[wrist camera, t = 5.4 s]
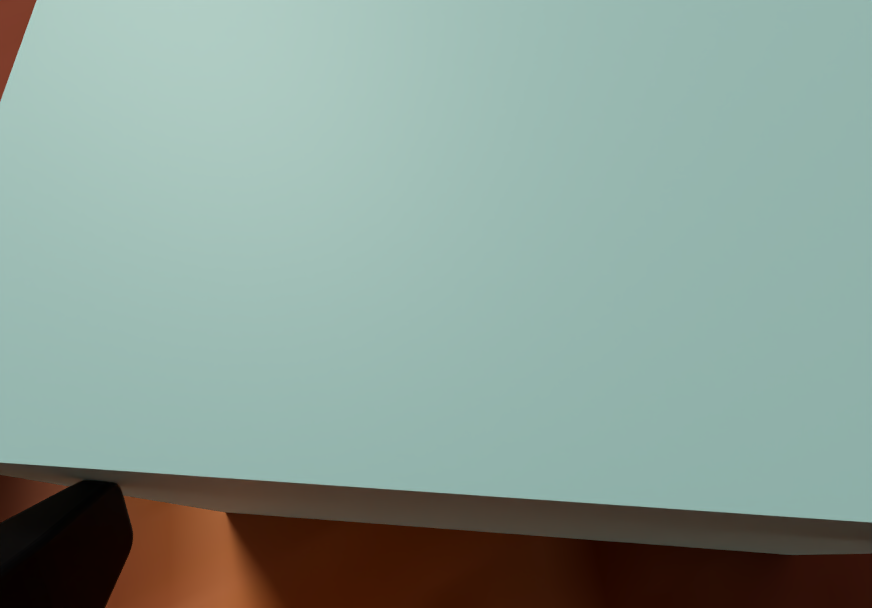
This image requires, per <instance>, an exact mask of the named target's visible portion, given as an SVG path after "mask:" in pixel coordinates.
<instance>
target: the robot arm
mask: <svg viewBox="0 0 872 608" xmlns="http://www.w3.org/2000/svg"><path fill="white" fill-rule="evenodd" d="M132 542H133V531H132V526H131V523H130V519H129V515H128V511H127V508H126V504H125V500H124V497H123V493H122V490H121V488H120V486H119V485H118V484H117V483H114V482H106V481H92V480H82V481H79V482H77V483H75V484H74V485H72V486H70V487H68V488H66V489H64V490H62V491H60V492H58V493H57V494H55V495H53V496H51V497H49V498H47V499H45V500H43V501H41V502H39V503H38V504H36V505H34V506H32V507H30V508H28V509H26V510H24V511H22V512H21V513H19V514H17V515H15V516H13V517H11V518H9V519H7V520H5V521H4V522H2V523H0V608H105V607H106V605H107V602H108V600H109V598H110V596H111V593H112V591H113V589H114V587H115V584H116V582H117V580H118V578H119V575H120V573H121V571H122V569H123V566H124V564H125V562H126V560H127V558H128V555H129V553H130V550H131V547H132Z"/></svg>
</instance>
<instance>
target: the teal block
mask: <svg viewBox="0 0 872 608" xmlns="http://www.w3.org/2000/svg"><path fill="white" fill-rule="evenodd" d="M0 475H4V476H10V477H16V478H22V479H28V480H34V481H40V482H46V483H52V484H58V485H64V486H72V485H74V484H75V483H77V482H79V481H82V480H92V481H106V482H114V483H117V484H118V485H119V486H120V488H121V490H122V493H123V495H124V496H130V497H136V498H142V499H148V500H154V501H160V502H166V503H172V504H178V505H184V506H190V507H196V508H202V509H208V510H214V511H220V512H227V513H241V514H254V515H267V516H281V517H294V518H307V519H320V520H334V521H347V522H360V523H373V524H387V525H400V526H413V527H427V528H440V529H453V530H466V531H480V532H493V533H506V534H520V535H533V536H546V537H559V538H573V539H586V540H599V541H612V542H626V543H639V544H652V545H666V546H679V547H692V548H705V549H719V550H732V551H745V552H758V553H772V554H785V555H820V554H872V0H37V1H36V4H35V7H34V9H33V12H32V15H31V18H30V21H29V23H28V26H27V29H26V32H25V35H24V37H23V40H22V43H21V46H20V49H19V51H18V54H17V57H16V60H15V63H14V65H13V68H12V71H11V74H10V76H9V79H8V82H7V85H6V88H5V90H4V93H3V96H2V99H1V102H0Z"/></svg>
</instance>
